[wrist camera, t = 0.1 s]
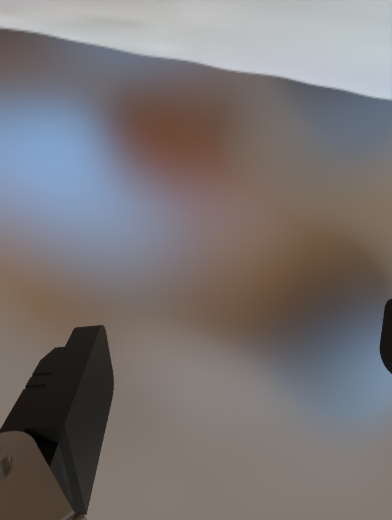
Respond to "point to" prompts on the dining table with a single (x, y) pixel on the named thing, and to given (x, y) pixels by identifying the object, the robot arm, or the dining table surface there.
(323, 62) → the dining table surface
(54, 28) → the dining table surface
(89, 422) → the robot arm
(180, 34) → the dining table surface
